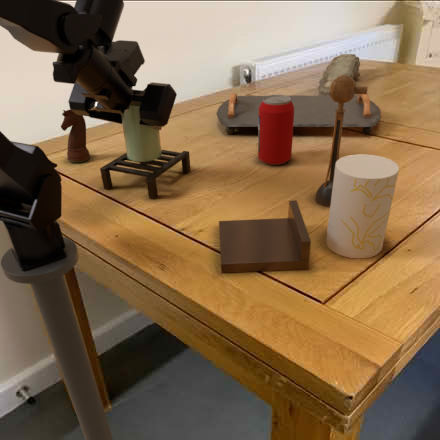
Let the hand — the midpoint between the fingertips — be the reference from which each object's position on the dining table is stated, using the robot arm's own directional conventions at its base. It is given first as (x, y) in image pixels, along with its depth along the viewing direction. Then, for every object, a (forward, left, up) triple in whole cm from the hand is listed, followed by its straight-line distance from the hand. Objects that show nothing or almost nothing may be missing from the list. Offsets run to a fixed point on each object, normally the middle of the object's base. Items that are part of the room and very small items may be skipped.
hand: (145, 125), depth 84 cm
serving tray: (+43, +8, -10) cm, 45 cm away
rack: (-1, -1, -10) cm, 10 cm away
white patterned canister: (+14, -40, -10) cm, 43 cm away
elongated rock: (+73, +25, -5) cm, 77 cm away
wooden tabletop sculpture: (+21, -28, -10) cm, 36 cm away
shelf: (+2, -33, -10) cm, 34 cm away
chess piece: (-8, +18, -5) cm, 20 cm away
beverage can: (+24, -8, -10) cm, 27 cm away
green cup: (-1, -1, -5) cm, 5 cm away
